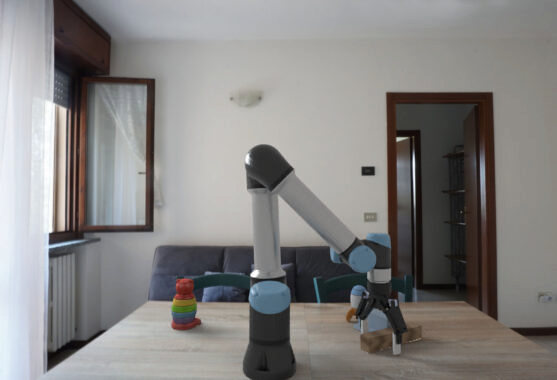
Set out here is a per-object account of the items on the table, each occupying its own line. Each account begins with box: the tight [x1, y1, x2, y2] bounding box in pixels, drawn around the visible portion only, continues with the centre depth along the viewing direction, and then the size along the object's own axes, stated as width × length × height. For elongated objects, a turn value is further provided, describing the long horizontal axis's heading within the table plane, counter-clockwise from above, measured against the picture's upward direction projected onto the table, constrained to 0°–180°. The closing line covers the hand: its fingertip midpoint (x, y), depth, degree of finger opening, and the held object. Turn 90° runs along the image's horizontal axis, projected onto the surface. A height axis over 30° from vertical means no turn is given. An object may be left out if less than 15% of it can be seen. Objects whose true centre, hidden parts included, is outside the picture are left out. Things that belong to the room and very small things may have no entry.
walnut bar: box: [359, 321, 423, 354], centre depth 119 cm, size 24×4×5 cm, turn 119°
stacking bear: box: [170, 278, 202, 331], centre depth 136 cm, size 11×10×18 cm
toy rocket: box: [345, 284, 369, 322], centre depth 142 cm, size 10×11×15 cm
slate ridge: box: [352, 307, 392, 332], centre depth 131 cm, size 10×14×7 cm
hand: (380, 346), depth 116 cm, fingers open, 13 cm apart
